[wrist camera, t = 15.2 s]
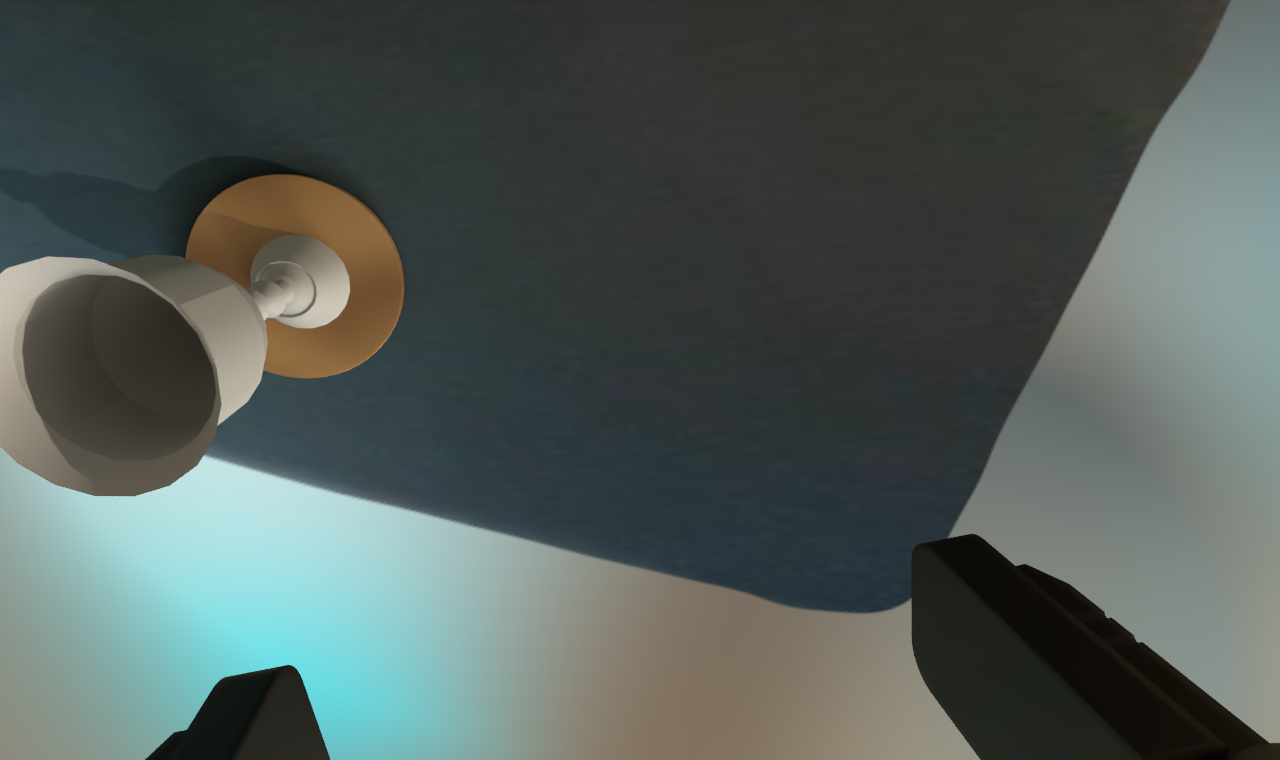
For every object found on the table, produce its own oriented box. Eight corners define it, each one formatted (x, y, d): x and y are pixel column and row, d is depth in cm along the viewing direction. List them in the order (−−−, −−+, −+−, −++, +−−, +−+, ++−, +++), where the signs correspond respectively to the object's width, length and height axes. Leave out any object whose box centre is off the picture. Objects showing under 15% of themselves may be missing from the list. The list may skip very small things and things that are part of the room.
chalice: (379, 340, 38) (250, 480, 21) (253, 355, 38) (14, 512, 21) (350, 206, 36) (179, 243, 19) (215, 219, 35) (-89, 271, 18)
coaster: (159, 189, 35) (153, 189, 35) (377, 160, 36) (374, 160, 36) (227, 389, 39) (222, 393, 38) (424, 358, 40) (422, 361, 39)
